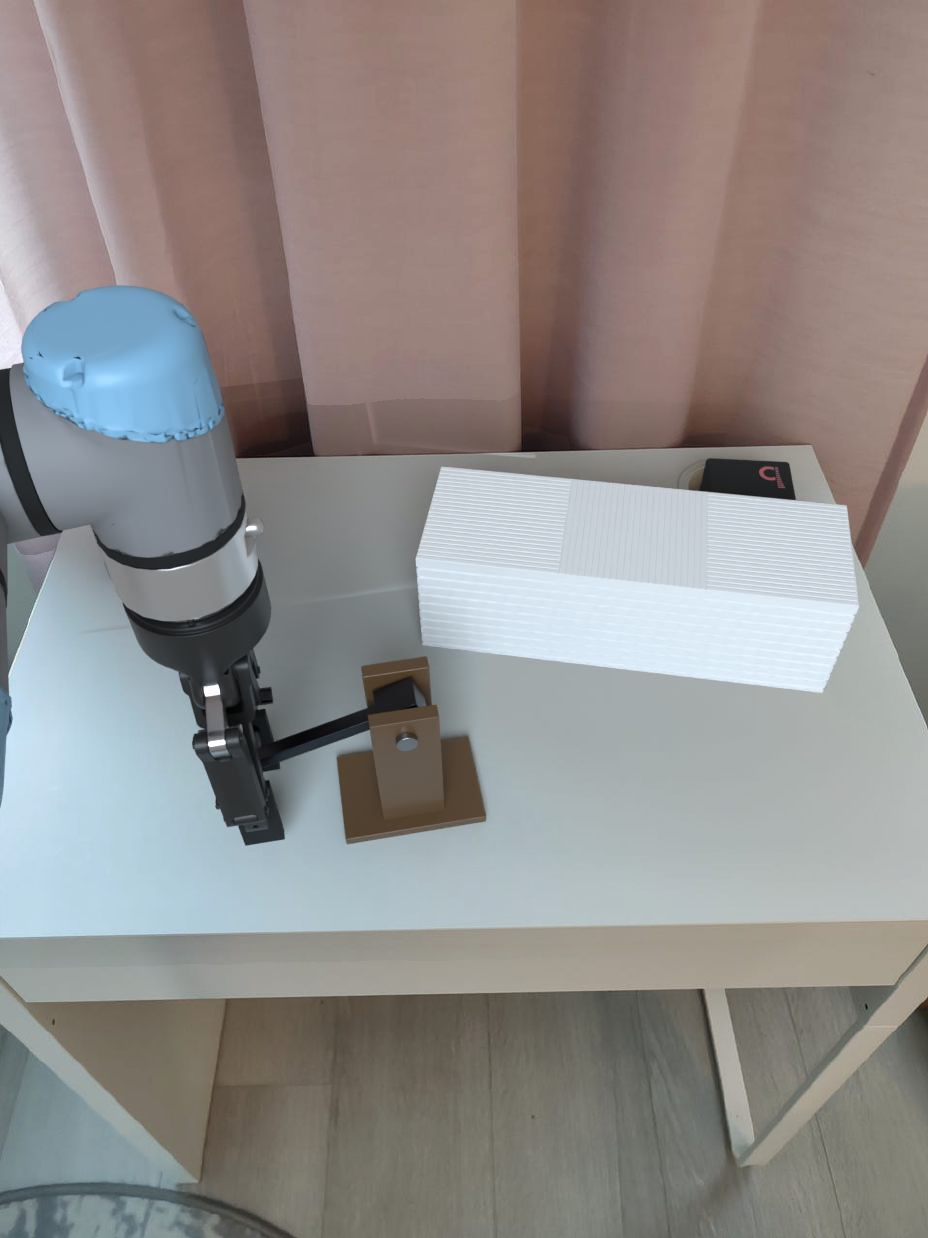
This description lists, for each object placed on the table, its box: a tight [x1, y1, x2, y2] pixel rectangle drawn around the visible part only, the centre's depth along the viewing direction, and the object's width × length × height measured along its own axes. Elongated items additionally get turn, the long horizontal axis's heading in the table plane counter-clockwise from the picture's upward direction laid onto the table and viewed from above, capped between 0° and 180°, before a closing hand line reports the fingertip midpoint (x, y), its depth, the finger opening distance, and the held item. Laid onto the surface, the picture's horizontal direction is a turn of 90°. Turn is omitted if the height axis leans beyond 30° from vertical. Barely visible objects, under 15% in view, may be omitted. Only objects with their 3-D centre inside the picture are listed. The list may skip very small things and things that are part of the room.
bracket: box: [336, 655, 487, 845], centre depth 69 cm, size 10×7×13 cm
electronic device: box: [698, 457, 797, 500], centre depth 88 cm, size 7×11×5 cm
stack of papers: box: [415, 465, 860, 694], centre depth 80 cm, size 32×11×11 cm, turn 81°
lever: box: [252, 678, 426, 768], centre depth 66 cm, size 13×5×2 cm, turn 100°
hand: (262, 801), depth 70 cm, fingers closed on lever, 5 cm apart
